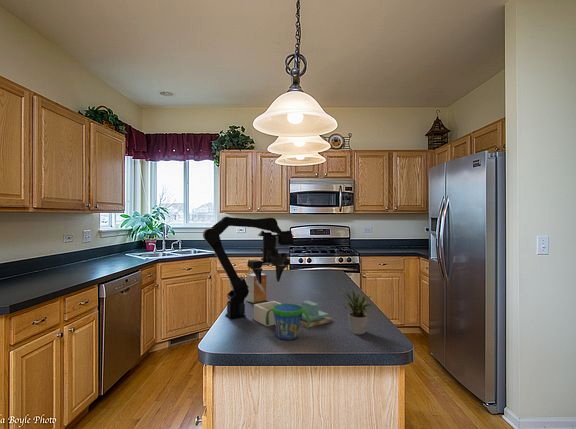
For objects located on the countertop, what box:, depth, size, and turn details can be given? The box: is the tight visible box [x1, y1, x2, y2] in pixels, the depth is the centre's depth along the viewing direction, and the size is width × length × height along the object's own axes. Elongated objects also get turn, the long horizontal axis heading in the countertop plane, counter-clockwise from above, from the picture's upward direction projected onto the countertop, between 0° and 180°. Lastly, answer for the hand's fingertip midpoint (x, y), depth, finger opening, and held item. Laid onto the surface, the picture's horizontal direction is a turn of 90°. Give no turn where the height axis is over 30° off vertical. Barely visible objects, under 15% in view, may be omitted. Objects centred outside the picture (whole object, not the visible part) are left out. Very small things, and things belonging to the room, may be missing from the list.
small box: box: [245, 272, 267, 304], centre depth 163 cm, size 8×6×13 cm
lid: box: [301, 300, 329, 322], centre depth 133 cm, size 10×10×6 cm
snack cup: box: [266, 303, 310, 341], centre depth 115 cm, size 16×11×10 cm
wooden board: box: [300, 316, 333, 328], centre depth 133 cm, size 13×12×1 cm
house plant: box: [340, 287, 376, 335], centre depth 120 cm, size 14×14×16 cm
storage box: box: [253, 300, 282, 327], centre depth 132 cm, size 10×10×6 cm
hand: (269, 282), depth 143 cm, fingers open, 9 cm apart
